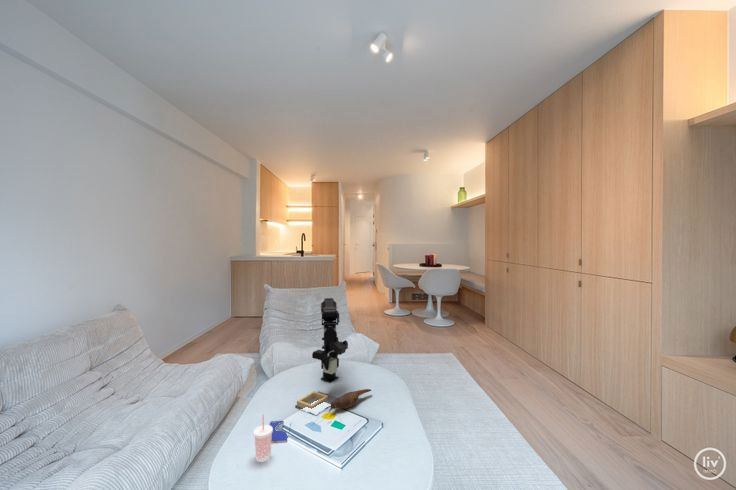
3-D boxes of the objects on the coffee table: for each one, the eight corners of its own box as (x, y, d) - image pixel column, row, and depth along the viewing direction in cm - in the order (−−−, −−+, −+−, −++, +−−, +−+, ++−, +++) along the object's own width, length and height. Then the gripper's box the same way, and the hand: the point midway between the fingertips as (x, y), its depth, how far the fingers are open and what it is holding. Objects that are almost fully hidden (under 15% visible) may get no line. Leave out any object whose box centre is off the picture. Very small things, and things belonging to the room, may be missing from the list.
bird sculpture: (375, 397, 145) (375, 386, 145) (333, 420, 127) (333, 407, 127) (364, 392, 150) (364, 382, 149) (323, 413, 131) (323, 401, 131)
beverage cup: (266, 448, 109) (266, 408, 109) (276, 456, 105) (276, 414, 105) (249, 458, 105) (249, 415, 104) (260, 466, 101) (259, 422, 101)
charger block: (328, 369, 152) (328, 356, 152) (336, 371, 150) (336, 358, 150) (323, 372, 149) (323, 359, 149) (331, 374, 146) (331, 361, 146)
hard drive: (270, 421, 124) (263, 441, 112) (291, 419, 125) (286, 439, 113) (270, 425, 124) (263, 445, 112) (291, 423, 125) (286, 443, 113)
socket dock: (318, 393, 149) (318, 387, 149) (339, 400, 142) (339, 393, 142) (295, 407, 136) (295, 400, 136) (316, 415, 130) (316, 408, 130)
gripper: (330, 343, 137) (330, 379, 137) (355, 333, 153) (355, 365, 153) (311, 339, 143) (311, 373, 143) (337, 329, 159) (337, 360, 159)
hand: (330, 368), depth 149 cm, fingers closed on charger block, 4 cm apart
